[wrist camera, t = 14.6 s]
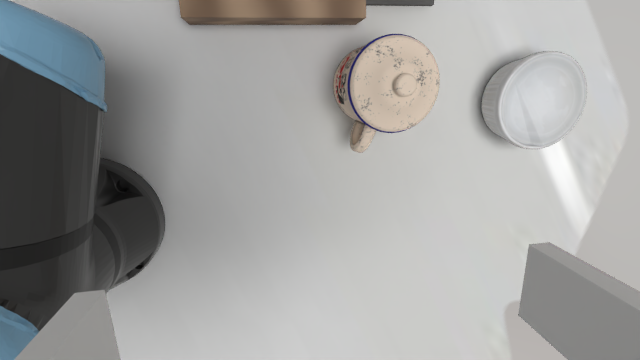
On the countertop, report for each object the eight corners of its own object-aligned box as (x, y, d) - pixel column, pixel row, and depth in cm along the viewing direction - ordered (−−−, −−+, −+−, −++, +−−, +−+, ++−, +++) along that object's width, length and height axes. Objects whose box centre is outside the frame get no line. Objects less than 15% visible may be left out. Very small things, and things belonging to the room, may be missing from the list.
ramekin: (456, 121, 44) (482, 126, 39) (501, 37, 42) (534, 31, 37) (521, 155, 47) (553, 164, 42) (566, 79, 45) (605, 78, 40)
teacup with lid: (348, 31, 39) (382, 9, 28) (416, 63, 41) (473, 54, 30) (310, 130, 41) (328, 147, 30) (377, 155, 43) (416, 180, 32)
